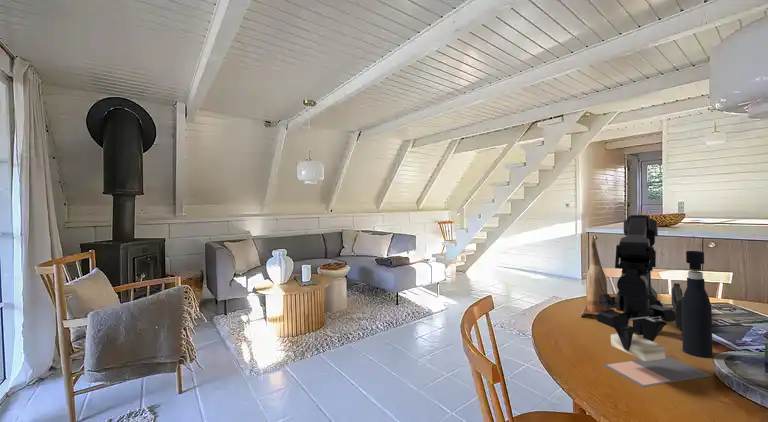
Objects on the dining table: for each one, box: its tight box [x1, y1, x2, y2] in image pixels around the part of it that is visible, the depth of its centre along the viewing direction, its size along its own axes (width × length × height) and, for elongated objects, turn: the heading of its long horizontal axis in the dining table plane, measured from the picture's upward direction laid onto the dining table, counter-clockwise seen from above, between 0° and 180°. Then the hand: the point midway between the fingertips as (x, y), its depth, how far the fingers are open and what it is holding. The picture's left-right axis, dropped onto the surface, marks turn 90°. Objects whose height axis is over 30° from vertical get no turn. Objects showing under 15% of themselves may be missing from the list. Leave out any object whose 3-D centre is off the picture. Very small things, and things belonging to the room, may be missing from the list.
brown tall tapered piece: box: [580, 235, 616, 318], centre depth 135 cm, size 11×12×32 cm
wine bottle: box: [681, 250, 713, 359], centre depth 99 cm, size 6×6×30 cm
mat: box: [602, 355, 713, 388], centre depth 91 cm, size 21×12×1 cm, turn 101°
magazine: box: [671, 282, 684, 330], centre depth 128 cm, size 17×3×30 cm
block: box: [610, 333, 666, 361], centre depth 90 cm, size 10×6×3 cm, turn 11°
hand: (636, 348), depth 90 cm, fingers closed on block, 6 cm apart
